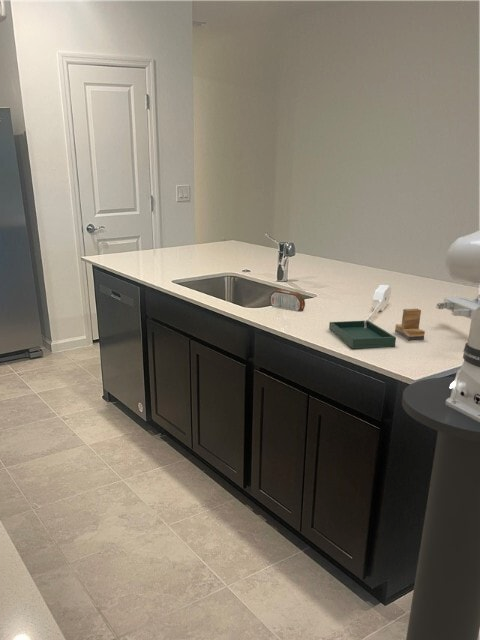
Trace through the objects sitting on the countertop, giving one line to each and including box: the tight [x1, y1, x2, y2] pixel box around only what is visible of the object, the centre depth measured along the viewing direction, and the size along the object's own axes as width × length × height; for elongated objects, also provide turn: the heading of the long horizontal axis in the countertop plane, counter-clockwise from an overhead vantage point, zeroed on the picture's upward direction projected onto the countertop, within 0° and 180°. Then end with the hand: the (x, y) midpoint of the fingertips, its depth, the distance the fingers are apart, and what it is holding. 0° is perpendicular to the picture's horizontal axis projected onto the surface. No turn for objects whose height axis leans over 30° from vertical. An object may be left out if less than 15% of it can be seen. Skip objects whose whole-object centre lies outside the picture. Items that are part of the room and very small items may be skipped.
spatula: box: [364, 284, 392, 329], centre depth 200 cm, size 38×8×4 cm
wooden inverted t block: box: [394, 308, 426, 342], centre depth 177 cm, size 10×5×9 cm, turn 6°
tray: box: [328, 320, 397, 349], centre depth 177 cm, size 22×14×3 cm, turn 6°
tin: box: [269, 288, 306, 312], centre depth 212 cm, size 15×3×8 cm, turn 47°
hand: (444, 309), depth 176 cm, fingers open, 8 cm apart
